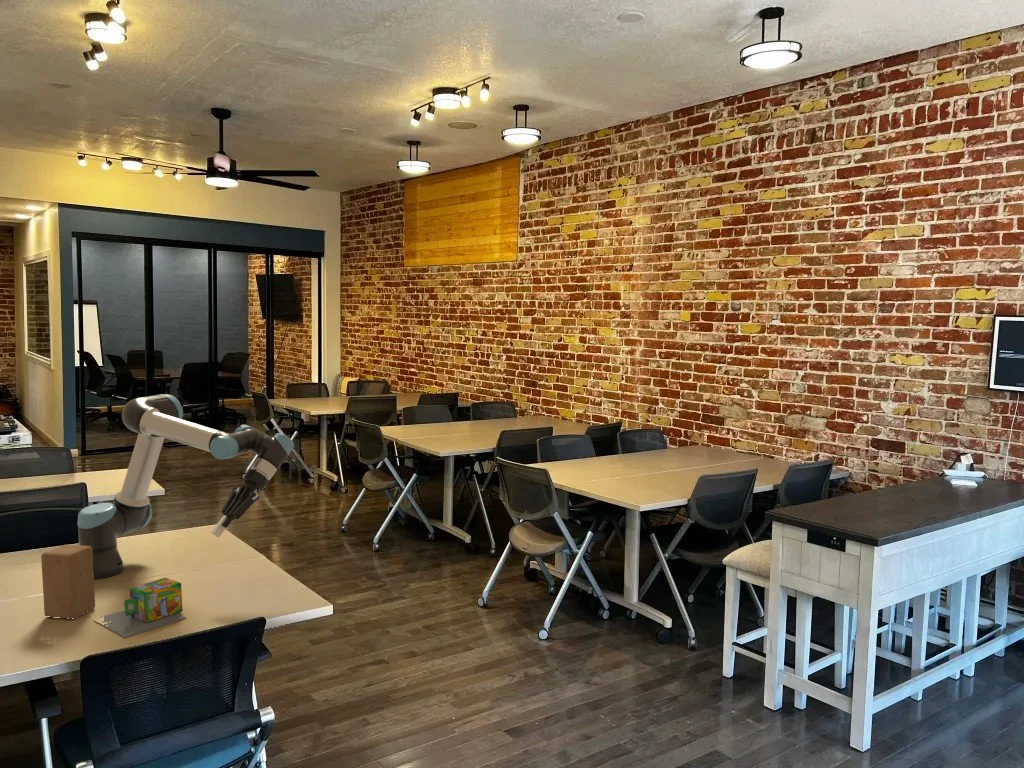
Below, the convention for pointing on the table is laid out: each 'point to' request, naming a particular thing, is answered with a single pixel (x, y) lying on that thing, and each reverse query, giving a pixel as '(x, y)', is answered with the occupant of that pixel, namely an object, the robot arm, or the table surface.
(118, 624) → the mat
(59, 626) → the table surface
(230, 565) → the table surface
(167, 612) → the chalk box
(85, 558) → the wooden block
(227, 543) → the table surface
